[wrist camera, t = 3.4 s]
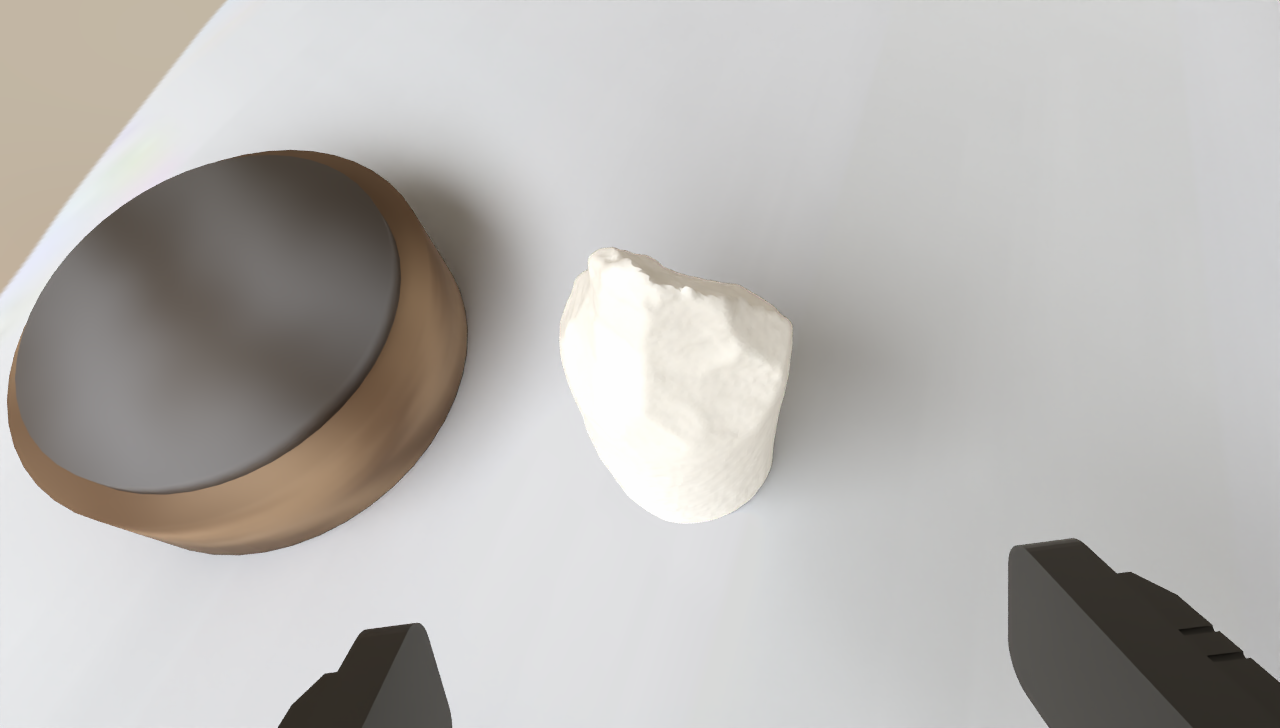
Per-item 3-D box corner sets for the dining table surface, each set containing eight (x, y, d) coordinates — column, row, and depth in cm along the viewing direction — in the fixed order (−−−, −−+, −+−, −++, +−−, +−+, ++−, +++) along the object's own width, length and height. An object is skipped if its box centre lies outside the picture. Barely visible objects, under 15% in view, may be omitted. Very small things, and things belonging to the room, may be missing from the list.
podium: (275, 173, 33) (208, 93, 29) (539, 287, 28) (505, 210, 24) (23, 443, 28) (-104, 393, 24) (297, 636, 23) (199, 616, 19)
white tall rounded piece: (826, 152, 15) (786, 396, 12) (785, 392, 25) (759, 547, 23) (553, 125, 16) (469, 343, 13) (623, 365, 26) (583, 510, 24)
